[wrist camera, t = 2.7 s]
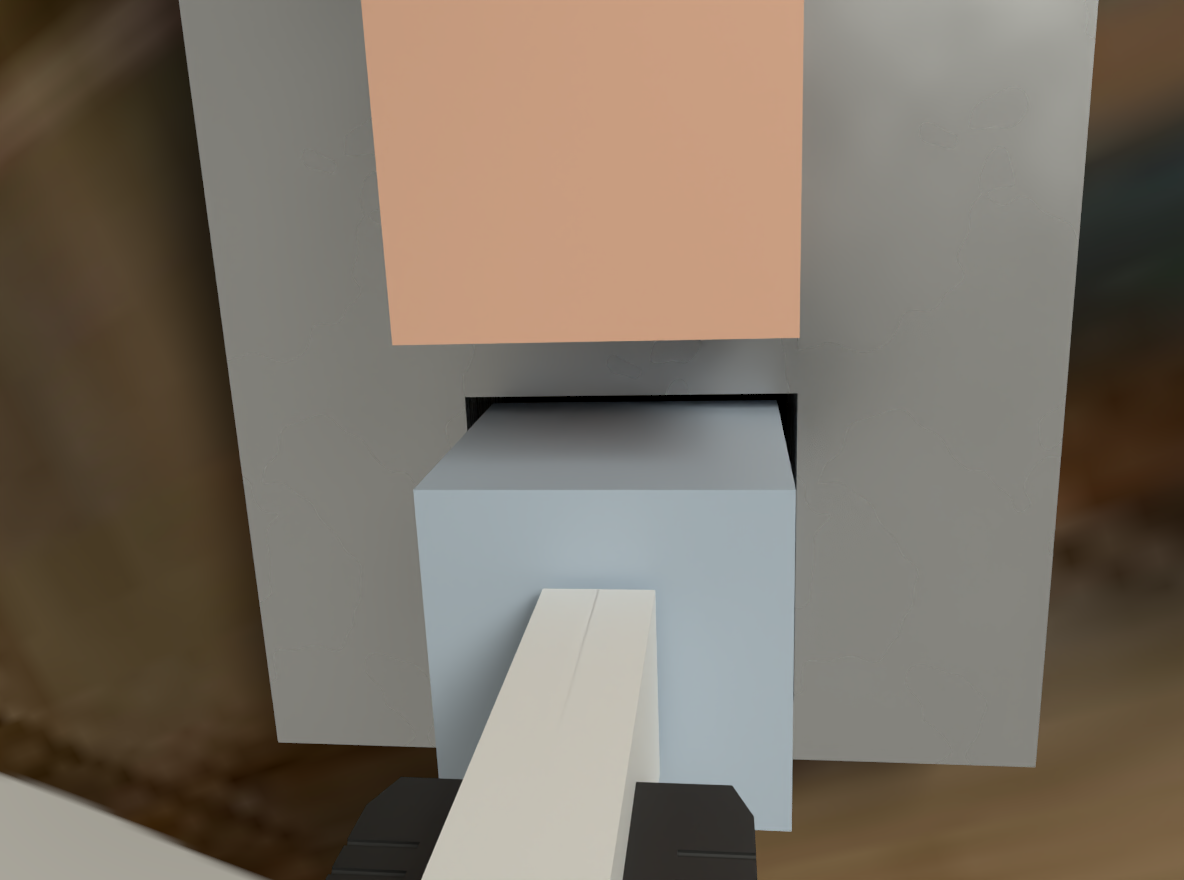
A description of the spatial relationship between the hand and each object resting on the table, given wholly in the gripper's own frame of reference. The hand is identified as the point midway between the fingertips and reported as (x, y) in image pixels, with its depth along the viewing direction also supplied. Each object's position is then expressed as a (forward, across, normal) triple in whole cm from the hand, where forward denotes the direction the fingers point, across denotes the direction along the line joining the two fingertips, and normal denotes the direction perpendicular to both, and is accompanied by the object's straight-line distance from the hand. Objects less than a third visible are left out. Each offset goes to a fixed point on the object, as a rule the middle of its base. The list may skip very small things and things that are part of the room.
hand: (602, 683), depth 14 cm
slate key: (+5, 0, 0) cm, 5 cm away
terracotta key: (+5, 0, +7) cm, 9 cm away
